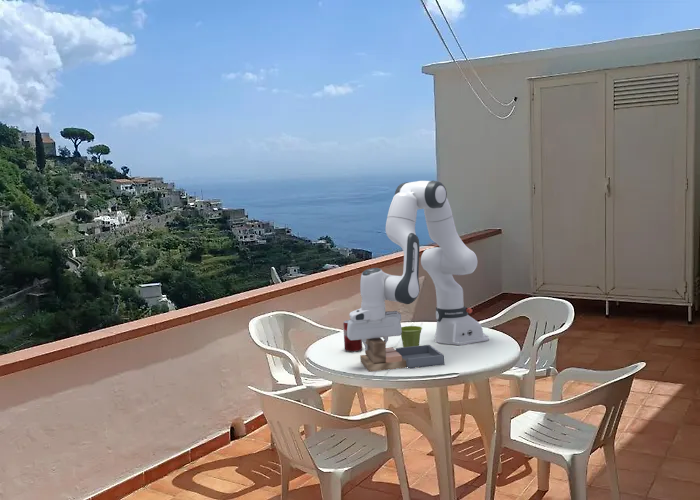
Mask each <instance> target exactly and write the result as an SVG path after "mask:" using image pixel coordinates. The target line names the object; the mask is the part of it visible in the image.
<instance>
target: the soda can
mask: <svg viewBox="0 0 700 500" xmlns="http://www.w3.org/2000/svg"><path fill="white" fill-rule="evenodd" d="M349 320H350V319H347V320H344V321H343V324H342V325H343V326H342V328H343V343H344V351H346V353H347V352H348V353H357V352H358V353H359V352H361V351H362V350H363V342H362V339H361V340H350V339H349V338H348V337H347V326H348V321H349Z"/></svg>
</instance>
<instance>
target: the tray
mask: <svg viewBox="0 0 700 500" xmlns="http://www.w3.org/2000/svg"><path fill="white" fill-rule="evenodd" d="M395 350H396V351H397V352H398V353H399V354H400V355H401V356H402V358H403V359H405V360H406V368H407V367H408V368H410V369H416V368H415V367H419V368H429V367H437V366H446V365H445V363H446V362H445V355H444V354H443V353H441V352H440V351H439V350H437V349H436V348H435V347H434V346H432V345H431V344H423V345H419V346H411V347H403V346H402V347H395ZM408 368H407V369H408Z"/></svg>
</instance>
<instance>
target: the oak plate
mask: <svg viewBox="0 0 700 500" xmlns="http://www.w3.org/2000/svg"><path fill="white" fill-rule="evenodd" d="M359 356H360V357H359V358H360V363H361V365H363V367H364V368H365V369H366V370H367V371H368V373H369V372H371V373H372V372H379V371H388V369H390V370H396V368H399V369H406V368H407V367H406V360H405V359H403V358H402V361H399V362H389V363H386V362H378V363H373V361H372V360H371V359H370V358H369V357H368V356H367V355H366V354H361V355H359ZM405 367H406V368H405Z"/></svg>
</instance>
